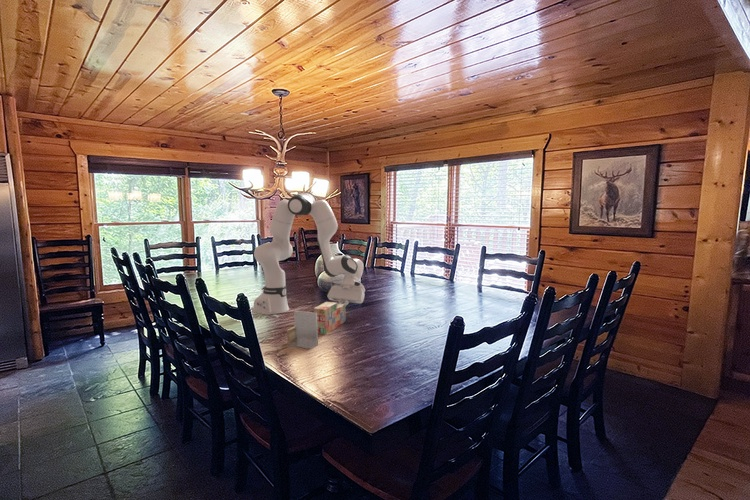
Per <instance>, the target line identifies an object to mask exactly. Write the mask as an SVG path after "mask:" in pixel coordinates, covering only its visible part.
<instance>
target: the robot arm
mask: <svg viewBox="0 0 750 500" xmlns="http://www.w3.org/2000/svg"><path fill="white" fill-rule="evenodd" d="M308 215H310V216H311V217H312V218H313V221H314V223H315V225H316V228H317V235H316V239H317V244H318V248H319V252H320V254H321V255H320V256H321V260H322V263H323V264H322V265H323V271H324V273H325V274H326V275H327V276H328V277H331V278H335V277H337V276H340V275H341V276H342V275H343V276H344V277H343V279H342V280H343V282H342V284H341V285H333V284H332V285H331V287H330V289H329V291H328V292H327V295H326V296H327V298H328V300H329V301H332V302H333V301H339V304H341V303H342V302H345V303H344V304H345V307H347V305H349V303H352V304H353V303H354V304H362V303H363V302H364V301H365V296H366V295H365V292H366V289H365V285H363V283H361V282H360V280H361V278H362V276H363V273H364V267H365V266H364V262H363V261H362V260H361V259H358V258H352V257H351V256H350V255H347V254H345V255H340V256H338V257H334V256H333V253H332V249H331V246H330V245H331V244H330V240H331V239H332V238H333V236H334V235H335V234H336V233H337V230H338V228H339V224H338V221H337V218H336V216H335V213H334V212H333V209H332V208H331V206H330V204H329V202H328V201H326V200H325V199H317V197H316V196H315V195H314V194H313V193H310V192H307V191H306V192H300V193H297V194H295V195H292V196H291V197H290V198H289V199H282V200H280V201H278V202H277V204H276V207H275V210H274V212H273V215H272V218H271V219H272V220H271V222H270V226H269V233H270V234H271V235H272V241H271V242H266V243H262V244H260V245H258V246H256V247H255V249H254V251H253V256H254V259H255V261H256V262H257V263H259V264H260V265H261V267H262V270H263V274H264V284H265V286H264V287H262V288H261V291H262V293H261V294H260V295H259V296H257V297H256V298H254V301H253V306H252V307H250V308H251V310H252V311H251V312H253V313H257V314H262V315H265V316H268V315H275V314H282V313H286V312H289V310H290V306H289V303H288V299H287V284H286V272H285V270H284V269H282V268H281V265H280V263H279V262H280V261H285V260H286V259H288V258H291V256H292V255H293V253H294V251H293V250H294V249H293V246H292V244H291V242H290V235H291V230H292V228H293V223H294V219H295V217H296V216H308Z"/></svg>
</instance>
